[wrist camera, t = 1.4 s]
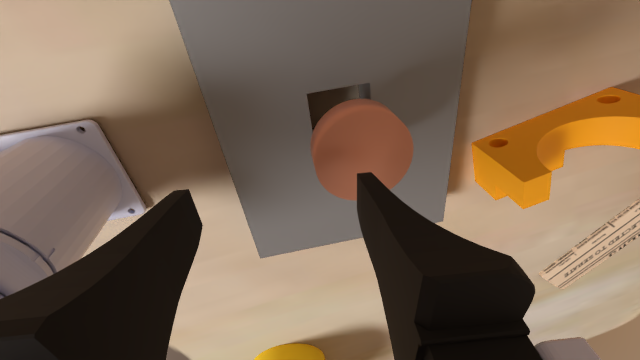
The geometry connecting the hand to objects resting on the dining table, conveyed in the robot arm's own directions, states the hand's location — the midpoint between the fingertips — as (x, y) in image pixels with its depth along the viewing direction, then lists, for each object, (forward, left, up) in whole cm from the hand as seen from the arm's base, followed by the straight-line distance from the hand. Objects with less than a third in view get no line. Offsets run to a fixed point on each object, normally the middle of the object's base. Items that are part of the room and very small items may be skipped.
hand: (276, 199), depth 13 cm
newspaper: (+39, -20, -12) cm, 45 cm away
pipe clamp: (+22, -6, -11) cm, 26 cm away
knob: (+4, 0, -7) cm, 8 cm away
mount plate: (+4, 0, -11) cm, 11 cm away
